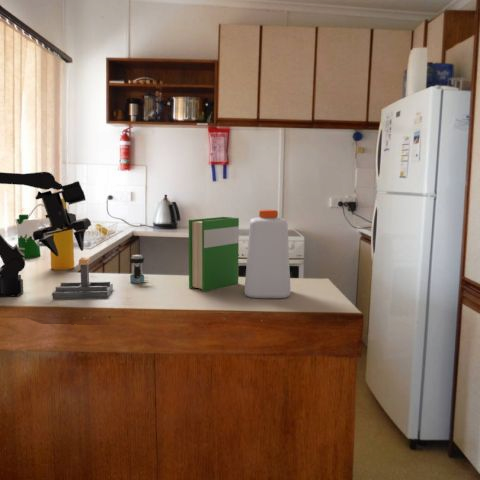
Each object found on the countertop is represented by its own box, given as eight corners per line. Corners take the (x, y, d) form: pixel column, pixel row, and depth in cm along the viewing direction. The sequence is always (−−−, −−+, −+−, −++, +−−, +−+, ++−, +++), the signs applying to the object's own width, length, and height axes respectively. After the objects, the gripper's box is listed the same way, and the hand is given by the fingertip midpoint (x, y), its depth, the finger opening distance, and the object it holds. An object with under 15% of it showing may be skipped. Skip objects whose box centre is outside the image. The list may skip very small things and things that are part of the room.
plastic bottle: (245, 288, 177) (245, 208, 173) (288, 288, 176) (290, 208, 172) (244, 298, 162) (245, 211, 158) (291, 299, 161) (293, 212, 157)
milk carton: (15, 257, 236) (13, 214, 234) (32, 254, 244) (30, 213, 241) (26, 259, 231) (24, 215, 229) (43, 256, 239) (42, 214, 236)
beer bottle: (64, 270, 205) (62, 199, 201) (46, 269, 208) (43, 198, 204) (79, 266, 213) (76, 198, 210) (60, 265, 216) (58, 197, 212)
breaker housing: (52, 299, 159) (52, 289, 159) (61, 290, 171) (61, 281, 171) (107, 298, 161) (107, 288, 161) (112, 289, 173) (112, 280, 173)
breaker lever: (79, 288, 163) (78, 260, 162) (82, 285, 168) (81, 257, 167) (88, 288, 164) (87, 259, 162) (91, 285, 168) (90, 257, 167)
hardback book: (204, 291, 171) (204, 221, 168) (189, 288, 175) (188, 219, 172) (238, 283, 184) (238, 218, 181) (223, 280, 189) (223, 216, 186)
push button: (146, 280, 188) (146, 253, 187) (149, 283, 183) (149, 255, 182) (128, 281, 186) (128, 254, 185) (131, 284, 181) (130, 256, 180)
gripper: (90, 198, 173) (104, 241, 176) (41, 209, 176) (55, 251, 180) (76, 204, 162) (91, 250, 166) (24, 216, 165) (40, 261, 169)
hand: (69, 253), depth 170 cm, fingers open, 9 cm apart
